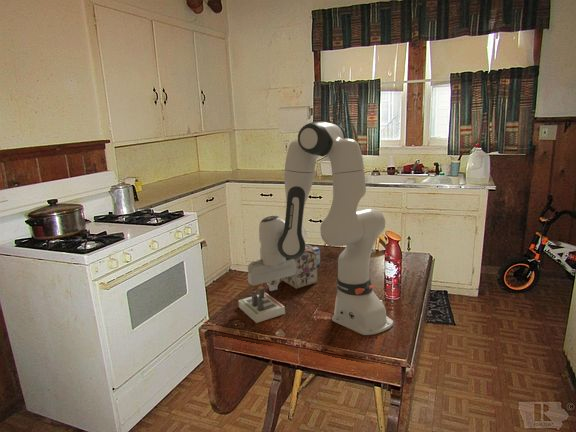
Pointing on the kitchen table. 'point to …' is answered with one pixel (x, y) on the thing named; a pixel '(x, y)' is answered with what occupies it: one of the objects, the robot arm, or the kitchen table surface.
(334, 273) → the kitchen table surface
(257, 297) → the breaker box
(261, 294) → the breaker handle
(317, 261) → the medicine box
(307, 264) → the decorative jar
